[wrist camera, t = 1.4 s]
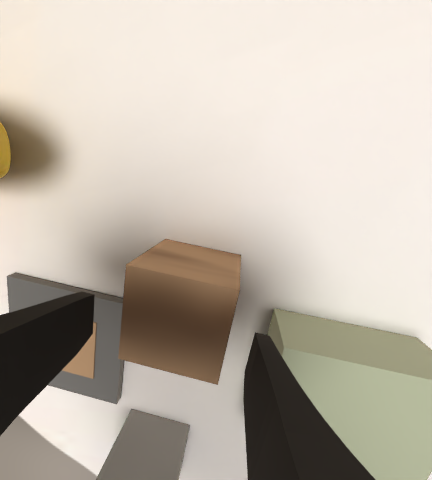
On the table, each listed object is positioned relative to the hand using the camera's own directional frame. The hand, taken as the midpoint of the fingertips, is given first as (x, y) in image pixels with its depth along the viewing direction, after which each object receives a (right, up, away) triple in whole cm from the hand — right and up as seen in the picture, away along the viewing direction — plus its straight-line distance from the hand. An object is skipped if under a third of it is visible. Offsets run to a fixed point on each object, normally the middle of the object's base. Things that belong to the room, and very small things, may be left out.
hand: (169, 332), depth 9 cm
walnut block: (+1, +1, +5) cm, 6 cm away
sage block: (+10, -6, +6) cm, 13 cm away
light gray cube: (-3, -13, +9) cm, 16 cm away
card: (-9, -4, +8) cm, 13 cm away
